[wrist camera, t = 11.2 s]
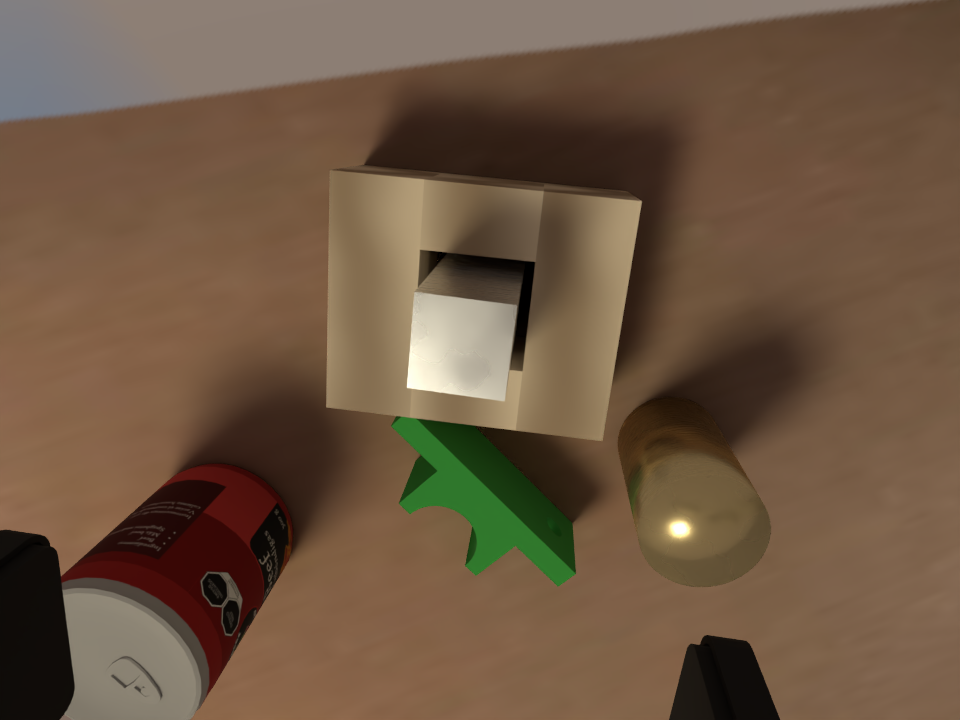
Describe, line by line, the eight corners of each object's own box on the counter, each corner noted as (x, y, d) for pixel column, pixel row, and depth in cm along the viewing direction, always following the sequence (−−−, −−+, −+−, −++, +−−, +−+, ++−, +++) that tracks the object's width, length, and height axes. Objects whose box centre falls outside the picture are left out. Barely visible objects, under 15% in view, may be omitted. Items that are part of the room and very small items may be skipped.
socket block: (626, 191, 30) (642, 201, 25) (594, 397, 33) (602, 440, 28) (363, 165, 30) (329, 170, 26) (357, 369, 34) (326, 407, 29)
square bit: (526, 253, 31) (517, 305, 22) (516, 323, 32) (504, 401, 23) (454, 244, 31) (414, 291, 22) (447, 314, 32) (406, 387, 23)
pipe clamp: (376, 420, 35) (351, 460, 30) (425, 375, 34) (407, 409, 29) (521, 560, 36) (517, 617, 32) (573, 522, 35) (576, 575, 31)
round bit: (729, 403, 32) (784, 484, 25) (708, 493, 34) (754, 594, 26) (626, 391, 33) (650, 467, 25) (610, 480, 34) (628, 578, 27)
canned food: (264, 601, 39) (161, 770, 29) (142, 533, 38) (-9, 681, 28) (322, 508, 36) (233, 655, 26) (193, 433, 36) (49, 554, 25)
